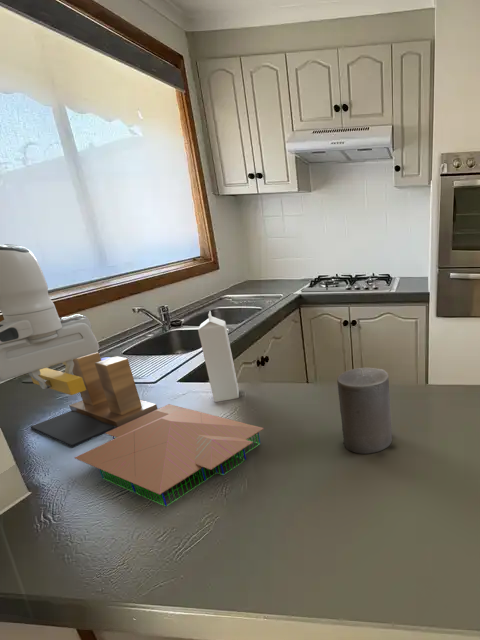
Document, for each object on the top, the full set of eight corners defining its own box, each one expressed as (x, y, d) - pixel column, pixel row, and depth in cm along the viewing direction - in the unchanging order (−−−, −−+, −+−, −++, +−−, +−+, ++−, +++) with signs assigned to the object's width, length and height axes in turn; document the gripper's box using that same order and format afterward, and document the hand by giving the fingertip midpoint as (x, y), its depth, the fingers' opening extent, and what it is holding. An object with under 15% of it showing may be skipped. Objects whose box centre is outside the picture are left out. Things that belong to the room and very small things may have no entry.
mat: (115, 428, 96) (114, 426, 96) (72, 447, 89) (71, 445, 89) (72, 412, 106) (71, 410, 106) (31, 428, 99) (30, 426, 99)
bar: (86, 389, 91) (81, 377, 90) (71, 395, 88) (66, 382, 87) (48, 378, 100) (43, 367, 99) (33, 383, 97) (28, 371, 96)
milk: (214, 402, 106) (194, 317, 98) (215, 393, 111) (196, 311, 103) (239, 398, 107) (221, 313, 99) (239, 389, 113) (222, 308, 105)
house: (175, 516, 65) (162, 471, 63) (67, 467, 82) (53, 429, 79) (276, 445, 84) (270, 408, 81) (172, 416, 100) (163, 384, 97)
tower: (157, 409, 104) (142, 356, 99) (117, 427, 96) (98, 370, 91) (110, 395, 115) (94, 346, 110) (70, 410, 108) (52, 358, 103)
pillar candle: (333, 443, 83) (324, 372, 77) (367, 424, 89) (362, 357, 84) (369, 460, 76) (362, 383, 71) (403, 438, 83) (399, 366, 78)
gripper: (79, 311, 99) (98, 366, 104) (-32, 336, 83) (-3, 400, 88) (93, 312, 95) (112, 369, 100) (-20, 338, 79) (9, 405, 84)
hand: (57, 384), depth 94 cm, fingers closed on bar, 3 cm apart
